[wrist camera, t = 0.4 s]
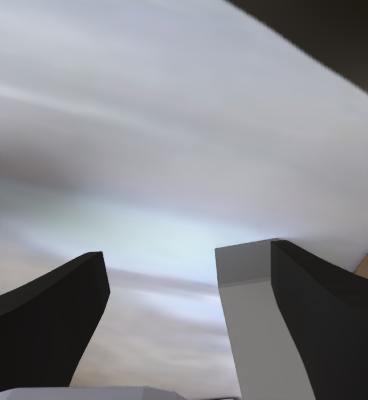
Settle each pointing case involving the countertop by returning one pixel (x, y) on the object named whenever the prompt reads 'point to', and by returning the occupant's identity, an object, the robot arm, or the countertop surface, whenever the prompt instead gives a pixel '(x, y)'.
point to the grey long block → (258, 326)
